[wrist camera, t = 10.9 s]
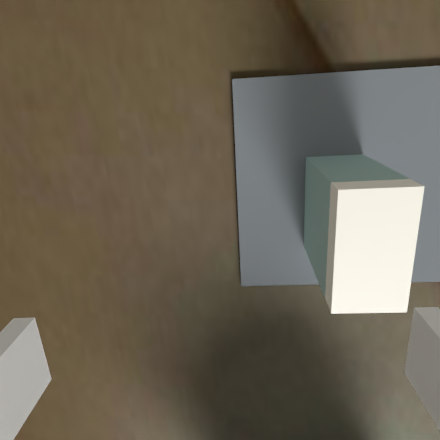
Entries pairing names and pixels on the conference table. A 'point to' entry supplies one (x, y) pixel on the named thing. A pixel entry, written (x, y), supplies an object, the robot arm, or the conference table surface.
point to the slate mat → (329, 146)
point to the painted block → (361, 232)
